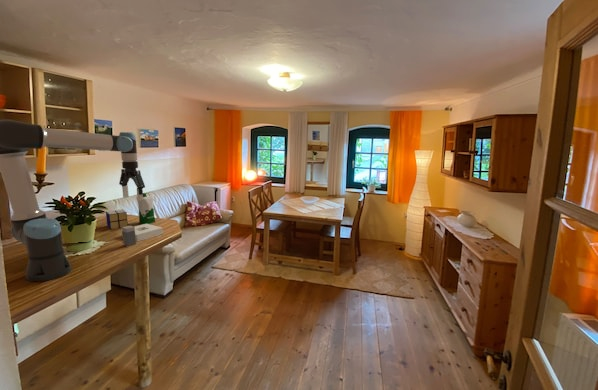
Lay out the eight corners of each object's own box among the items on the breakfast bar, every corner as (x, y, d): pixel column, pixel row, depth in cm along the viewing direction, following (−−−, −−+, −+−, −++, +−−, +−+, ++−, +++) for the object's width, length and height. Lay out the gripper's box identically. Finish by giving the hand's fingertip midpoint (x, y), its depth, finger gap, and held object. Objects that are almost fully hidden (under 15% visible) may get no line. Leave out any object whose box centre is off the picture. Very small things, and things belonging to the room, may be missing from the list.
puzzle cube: (107, 226, 198) (105, 211, 196) (124, 223, 204) (122, 209, 202) (110, 229, 190) (108, 214, 188) (128, 226, 197) (126, 211, 195)
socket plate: (137, 241, 170) (136, 233, 169) (121, 236, 178) (121, 228, 177) (162, 234, 184) (162, 226, 183) (147, 229, 192) (146, 222, 191)
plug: (128, 246, 162) (126, 228, 160) (123, 245, 165) (121, 227, 163) (136, 244, 166) (134, 226, 164) (131, 242, 168) (129, 225, 166)
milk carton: (148, 220, 212) (146, 192, 208) (157, 221, 209) (155, 193, 205) (137, 223, 204) (134, 194, 201) (146, 225, 201) (144, 195, 197)
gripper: (150, 161, 162) (153, 200, 166) (123, 159, 174) (126, 195, 178) (136, 162, 156) (140, 202, 160) (110, 160, 168) (113, 197, 172)
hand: (133, 198), depth 169 cm, fingers open, 13 cm apart
